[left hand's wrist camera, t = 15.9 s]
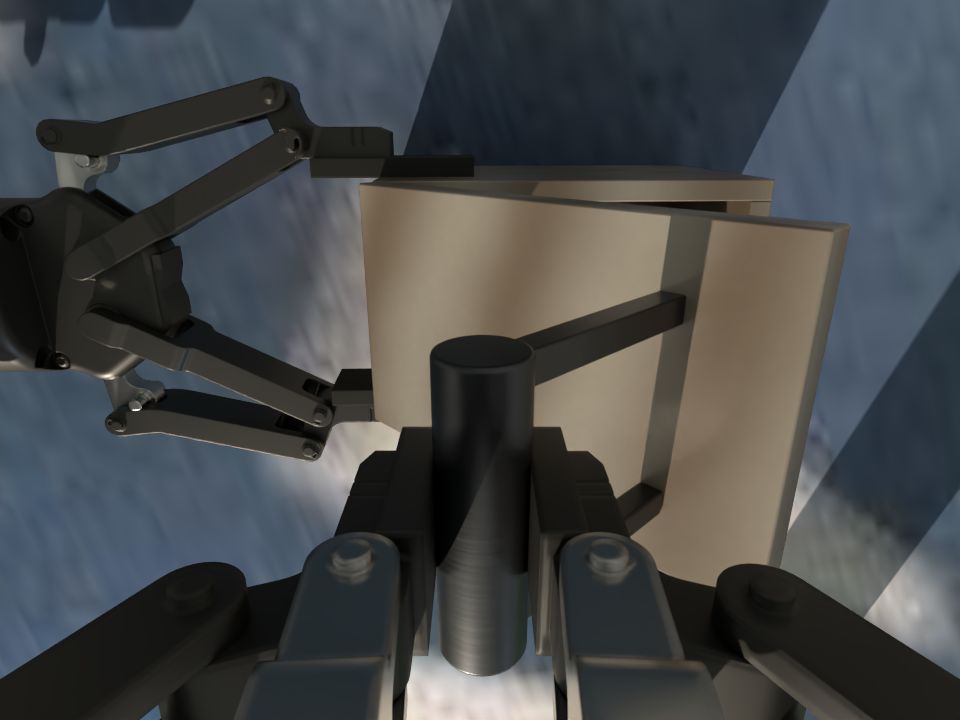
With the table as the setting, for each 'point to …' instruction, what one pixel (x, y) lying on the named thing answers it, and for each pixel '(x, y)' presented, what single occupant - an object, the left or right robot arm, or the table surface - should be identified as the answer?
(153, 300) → the right robot arm
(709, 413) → the lid
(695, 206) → the chest
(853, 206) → the table surface
